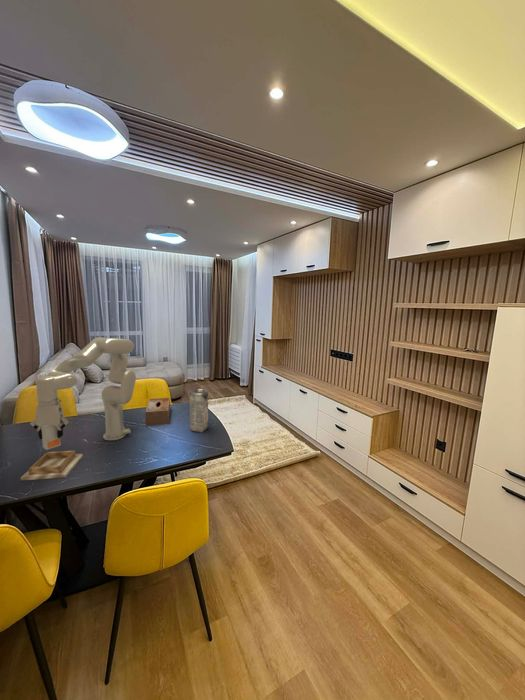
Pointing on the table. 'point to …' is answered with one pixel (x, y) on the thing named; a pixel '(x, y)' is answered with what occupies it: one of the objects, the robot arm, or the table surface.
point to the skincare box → (50, 437)
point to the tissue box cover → (157, 411)
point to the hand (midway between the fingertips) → (51, 437)
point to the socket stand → (53, 465)
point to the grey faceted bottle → (198, 410)
